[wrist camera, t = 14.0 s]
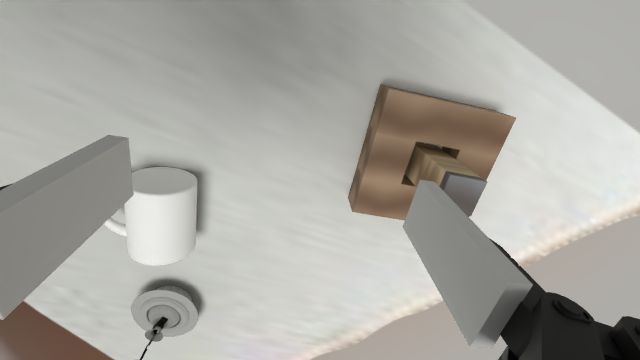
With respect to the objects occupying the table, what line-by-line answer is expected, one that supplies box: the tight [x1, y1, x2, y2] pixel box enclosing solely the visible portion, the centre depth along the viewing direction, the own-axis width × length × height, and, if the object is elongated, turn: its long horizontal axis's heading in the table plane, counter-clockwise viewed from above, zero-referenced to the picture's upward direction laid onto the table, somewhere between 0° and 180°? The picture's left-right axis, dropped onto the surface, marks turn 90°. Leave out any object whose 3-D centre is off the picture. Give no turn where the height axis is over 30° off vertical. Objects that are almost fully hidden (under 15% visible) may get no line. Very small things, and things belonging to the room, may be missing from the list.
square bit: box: [405, 142, 487, 216], centre depth 35 cm, size 4×4×12 cm
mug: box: [104, 167, 197, 266], centre depth 37 cm, size 12×10×8 cm
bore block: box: [348, 85, 516, 220], centre depth 39 cm, size 16×16×4 cm
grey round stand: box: [131, 286, 198, 360], centre depth 43 cm, size 12×10×10 cm
